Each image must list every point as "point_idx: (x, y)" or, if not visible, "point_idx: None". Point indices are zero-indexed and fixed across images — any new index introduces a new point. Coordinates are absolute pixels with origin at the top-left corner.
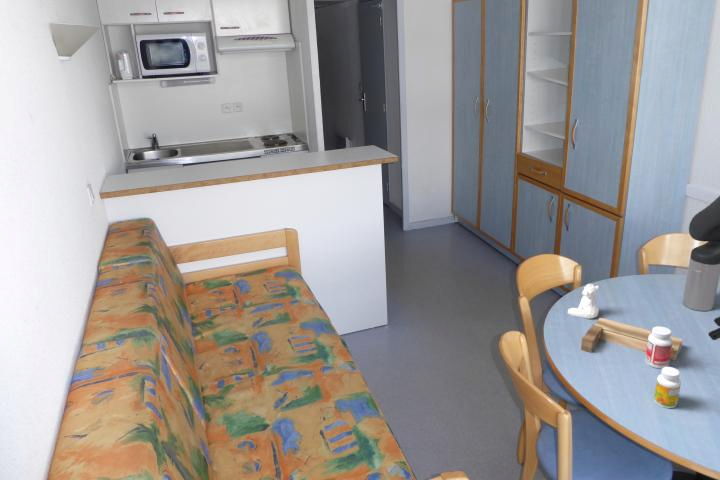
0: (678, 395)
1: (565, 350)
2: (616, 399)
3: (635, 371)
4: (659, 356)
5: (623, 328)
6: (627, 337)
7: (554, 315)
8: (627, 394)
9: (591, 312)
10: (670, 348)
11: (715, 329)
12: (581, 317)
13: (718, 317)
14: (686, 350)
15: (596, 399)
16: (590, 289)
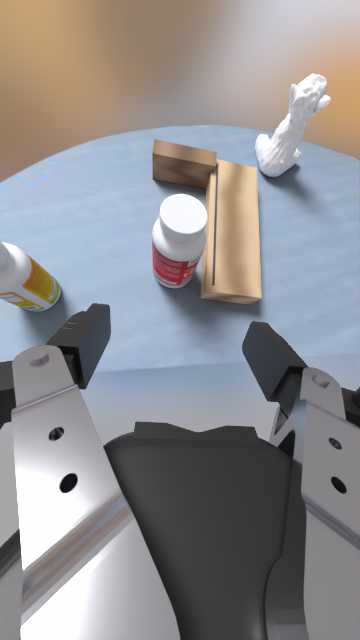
0: (14, 303)
1: (141, 147)
2: (15, 221)
3: (126, 242)
4: (153, 257)
5: (240, 202)
6: (210, 209)
7: (240, 129)
8: (40, 235)
9: (267, 156)
10: (170, 265)
11: (92, 322)
12: (257, 161)
13: (270, 333)
14: (247, 314)
15: (3, 194)
16: (304, 87)
